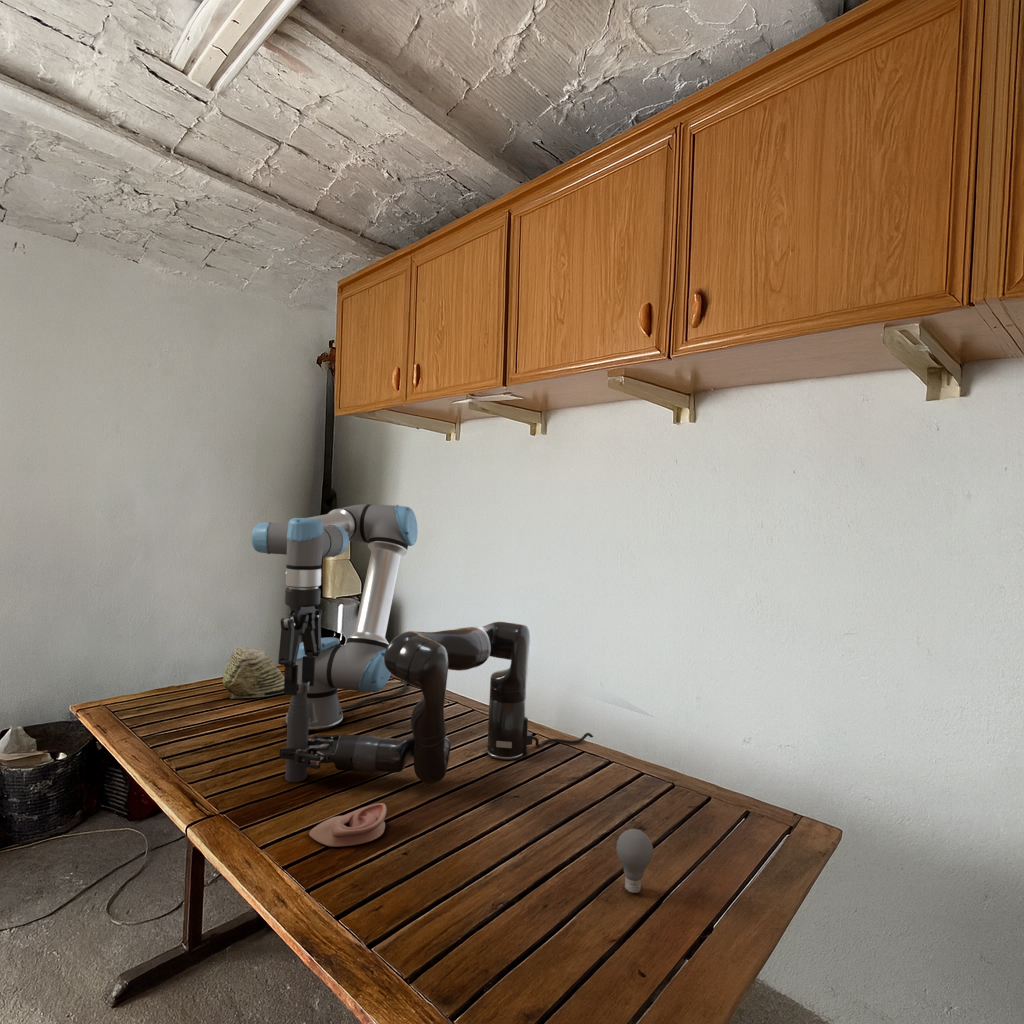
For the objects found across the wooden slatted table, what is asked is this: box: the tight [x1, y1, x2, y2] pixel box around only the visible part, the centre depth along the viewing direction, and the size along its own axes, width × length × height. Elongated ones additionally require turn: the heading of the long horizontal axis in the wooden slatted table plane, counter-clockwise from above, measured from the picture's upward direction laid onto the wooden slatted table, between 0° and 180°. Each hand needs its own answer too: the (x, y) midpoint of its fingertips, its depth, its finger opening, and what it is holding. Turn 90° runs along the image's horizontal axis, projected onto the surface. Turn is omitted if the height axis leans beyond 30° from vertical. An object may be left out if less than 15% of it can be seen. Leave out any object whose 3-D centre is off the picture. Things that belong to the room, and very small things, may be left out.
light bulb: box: [615, 828, 654, 894], centre depth 106 cm, size 6×6×10 cm
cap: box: [297, 679, 310, 694], centre depth 142 cm, size 4×4×2 cm
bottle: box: [284, 692, 309, 783], centre depth 142 cm, size 5×5×21 cm
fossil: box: [222, 646, 285, 699], centre depth 198 cm, size 9×18×15 cm, turn 132°
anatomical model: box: [308, 802, 387, 848], centre depth 120 cm, size 13×4×12 cm
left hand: (299, 689), depth 142 cm, fingers open, 7 cm apart
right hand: (285, 748), depth 142 cm, fingers closed on bottle, 4 cm apart
